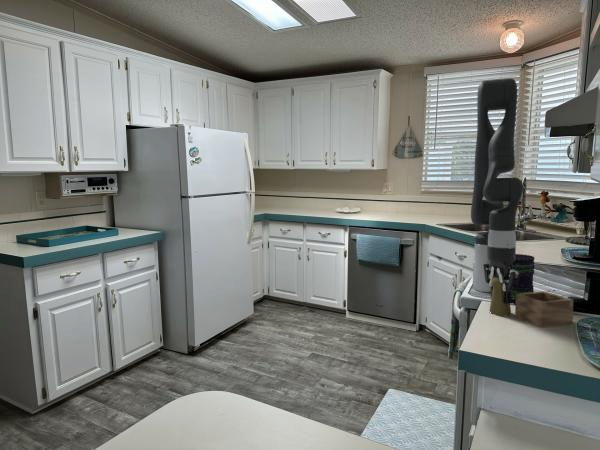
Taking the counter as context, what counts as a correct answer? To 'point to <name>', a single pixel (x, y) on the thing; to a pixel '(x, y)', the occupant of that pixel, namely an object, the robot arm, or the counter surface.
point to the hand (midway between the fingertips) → (500, 300)
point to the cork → (498, 299)
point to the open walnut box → (544, 309)
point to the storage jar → (523, 275)
